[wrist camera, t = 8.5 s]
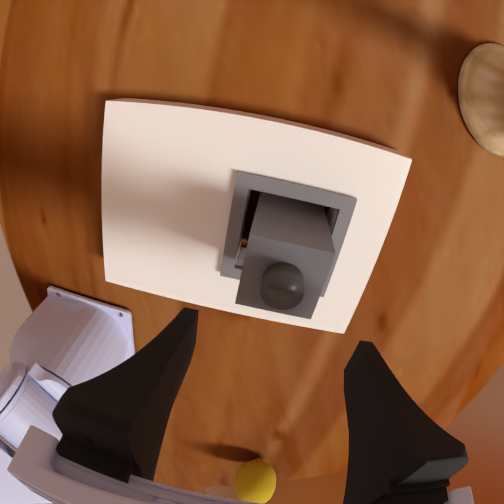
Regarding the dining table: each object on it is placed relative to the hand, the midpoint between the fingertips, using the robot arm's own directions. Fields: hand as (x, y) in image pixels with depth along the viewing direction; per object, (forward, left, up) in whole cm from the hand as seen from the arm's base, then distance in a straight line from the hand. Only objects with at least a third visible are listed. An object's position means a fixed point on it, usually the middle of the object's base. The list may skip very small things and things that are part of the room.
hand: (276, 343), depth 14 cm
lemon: (+5, -33, -10) cm, 35 cm away
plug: (0, +1, -10) cm, 10 cm away
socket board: (-3, +2, -10) cm, 10 cm away
